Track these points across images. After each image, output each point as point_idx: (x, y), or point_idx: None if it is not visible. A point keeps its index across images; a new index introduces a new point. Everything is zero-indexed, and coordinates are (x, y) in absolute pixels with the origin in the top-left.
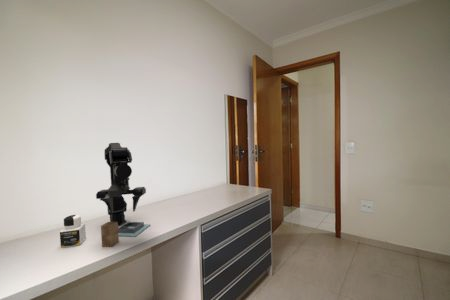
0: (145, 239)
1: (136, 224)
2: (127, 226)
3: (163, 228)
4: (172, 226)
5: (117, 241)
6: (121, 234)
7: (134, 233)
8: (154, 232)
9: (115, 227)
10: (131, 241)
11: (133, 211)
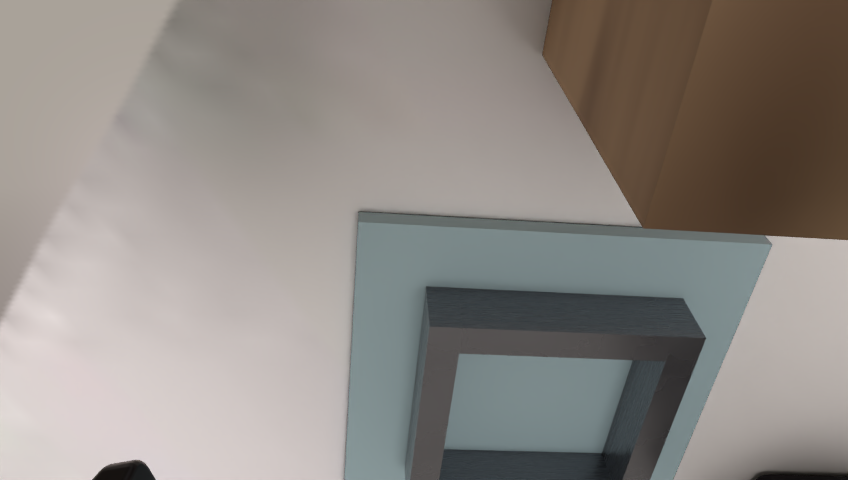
0: (154, 139)
1: (501, 474)
2: (615, 438)
3: (109, 430)
4: (21, 476)
5: (553, 29)
6: (604, 253)
7: (419, 283)
8: (161, 334)
9: (636, 97)
10: (345, 77)
11: (130, 463)
